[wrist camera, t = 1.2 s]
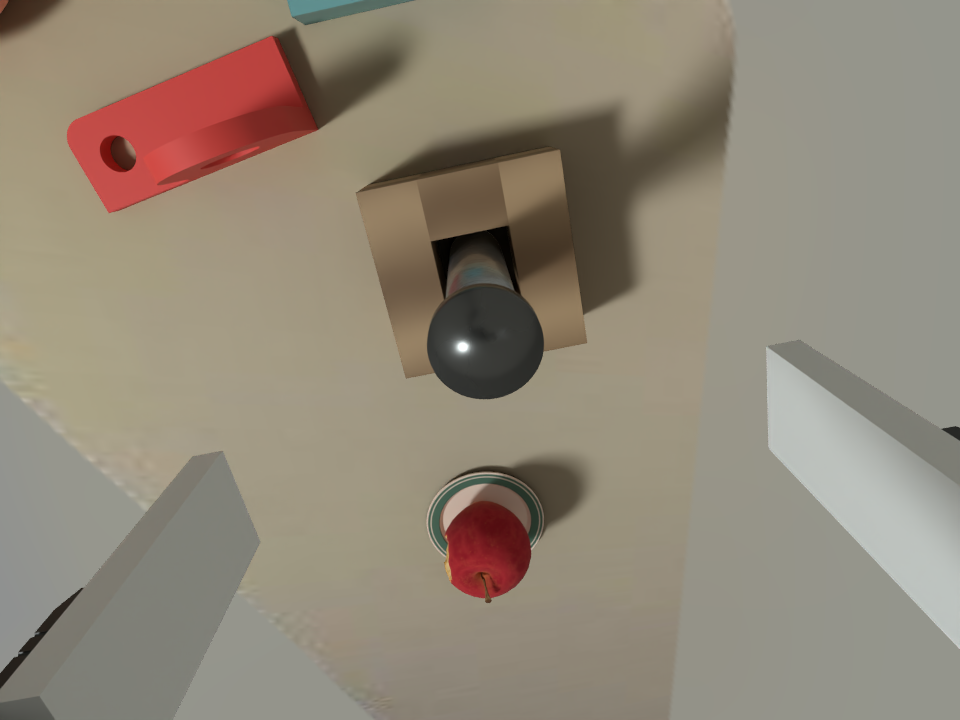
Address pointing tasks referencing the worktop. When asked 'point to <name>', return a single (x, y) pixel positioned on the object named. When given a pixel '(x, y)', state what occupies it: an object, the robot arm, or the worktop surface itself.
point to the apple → (485, 531)
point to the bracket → (193, 124)
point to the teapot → (3, 4)
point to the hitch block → (467, 209)
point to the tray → (333, 8)
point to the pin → (483, 324)
